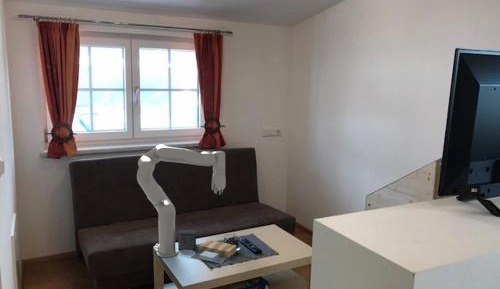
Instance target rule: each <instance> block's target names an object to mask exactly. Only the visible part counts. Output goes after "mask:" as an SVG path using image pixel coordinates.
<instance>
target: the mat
mask: <svg viewBox="0 0 500 289" xmlns="http://www.w3.org/2000/svg"><path fill="white" fill-rule="evenodd" d="M201 253H202V252H200V251H199V250H198V251H197V252H196V253H195V254H193V255H192V256H191V257H190V258H191V259H195V260H200V261H203V260H202V259H200V257H199V255H200V254H201ZM219 257H220V258H219ZM218 258H219V264H218V265H222V264H224V263H225V261H224V260H226V261H227V260H228V259H229V258H228V257H225V258H224V257H223V256H218Z"/></svg>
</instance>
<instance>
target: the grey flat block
mask: <svg viewBox="0 0 500 289" xmlns="http://www.w3.org/2000/svg"><path fill="white" fill-rule="evenodd" d="M199 257H200V259H202V260H201V261H204V260H208V261H214V260H216V259H217V258H218V254H217V253H212V252H208V251H204V252H203V253H201V254H200V255H199ZM208 261H207V262H208Z"/></svg>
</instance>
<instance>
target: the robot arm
mask: <svg viewBox="0 0 500 289" xmlns="http://www.w3.org/2000/svg"><path fill="white" fill-rule="evenodd" d="M161 161H163V162H170V163H180V164H186V165H187V164H189V165H193V166H194V165H195V166H203V167H211V166H212V177H211V190H212V191H213V193H214V194H215V195H216V196H215V198H216V202H217V201H218V202H221V201H223V191H224V190H225V188H226V183H227V182H226V180H227V179H226V178H227V177H226V152H225V151H222V150H217V151H211V150H210V151H209V150H206V151H205V150H204V151H201V152H198V151H195V150H194V151H193V150H190V149H188V148H184V147H183V148H182V147H173V146H166V145H165V144H159V145H156V146H155V147H154V148H152V149H150V150H149V151H148V152H146V153H145V154H144V155H142V156H141V157H140V158H138V160H137V165H138V168H137V173H136V180H137V183H138V185H139V187H141V189H142V190H143V192H144V194H145V195H146V197H147V199H148V200H149V201H150V203H151V204H152V205H153V207H154V209H156V211H157V213H158V222H157V223H158V243H156V244H155V245H154V249H156V250H157V251H156V256H158V257H159V258H171V257H175V256H176V255H177V254H178V253H179V250H178V248H176V207H175V205H174V204H173V203H172V201H171V200H170V198H169V197H168V196H167V194H166V192H165V191H164V190H163V188H162V187H161V185H159V184H158V183H157V181H156V180H155V178H154V176H153V173H154V170H155V168H156V164H158V163H160V162H161Z"/></svg>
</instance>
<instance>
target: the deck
mask: <svg viewBox="0 0 500 289" xmlns="http://www.w3.org/2000/svg"><path fill="white" fill-rule="evenodd" d="M199 251H200V252H204V251H208V252H212V253H217V254H218V256H223V257H228V259H229V258H231V257H232V256H233V255H234V254H236V253H237V245H236V244H230V243H226V242H222V241H221V242H220V241H216V240H210V239H207V240H205V241H204V242H203V243H200V244H199V246H198V252H199ZM235 252H236V253H235ZM231 255H232V256H231ZM230 256H231V257H230Z"/></svg>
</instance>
